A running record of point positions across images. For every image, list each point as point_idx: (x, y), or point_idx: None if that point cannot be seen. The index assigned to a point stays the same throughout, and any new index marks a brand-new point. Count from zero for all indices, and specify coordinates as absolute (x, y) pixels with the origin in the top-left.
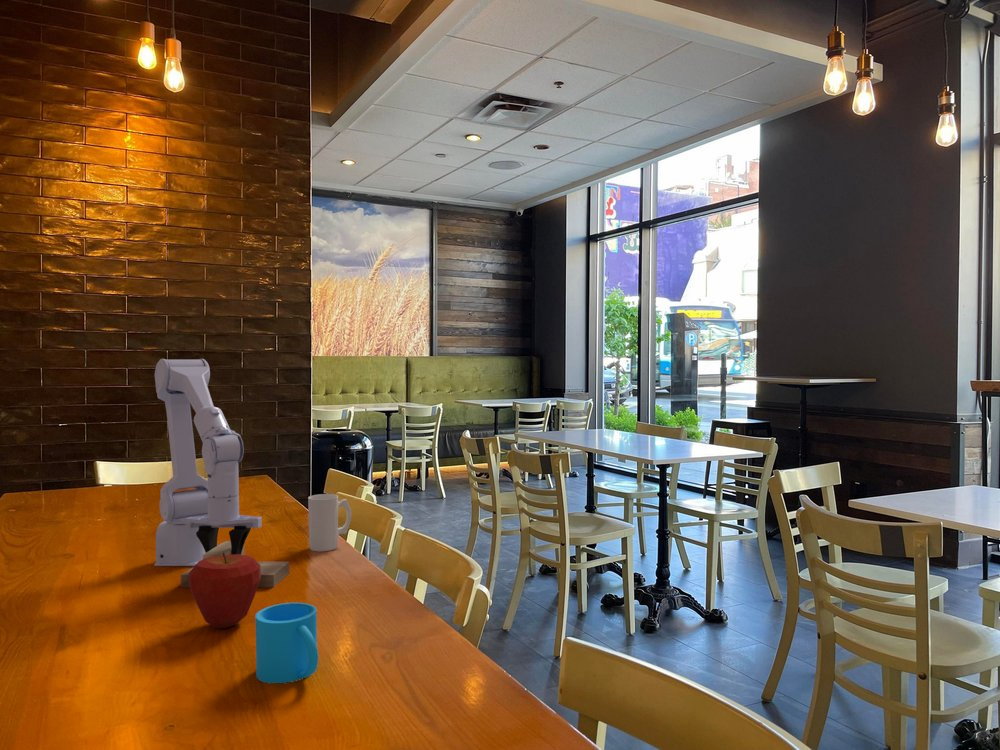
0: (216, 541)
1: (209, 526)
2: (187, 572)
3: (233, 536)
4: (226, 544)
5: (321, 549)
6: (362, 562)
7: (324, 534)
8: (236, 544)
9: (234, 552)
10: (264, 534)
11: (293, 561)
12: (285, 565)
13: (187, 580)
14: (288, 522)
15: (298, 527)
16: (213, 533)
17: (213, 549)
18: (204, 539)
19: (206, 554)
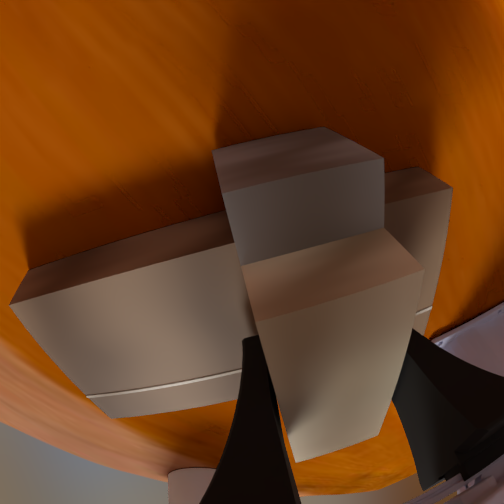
0: (402, 419)
1: (473, 475)
2: (439, 224)
3: (258, 495)
4: (354, 426)
5: (182, 472)
6: (45, 440)
7: (179, 502)
8: (237, 443)
9: (250, 393)
10: (354, 463)
11: (192, 436)
12: (90, 397)
13: (413, 181)
14: (339, 483)
15: (313, 486)
16: (433, 449)
17: (391, 368)
18: (469, 390)
19: (402, 285)
